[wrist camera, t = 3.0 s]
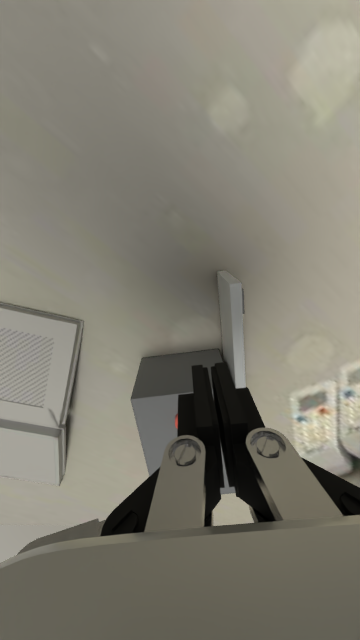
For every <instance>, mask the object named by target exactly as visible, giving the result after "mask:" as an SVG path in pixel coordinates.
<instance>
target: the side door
mask: <svg viewBox="0 0 360 640" xmlns="http://www.w3.org/2000/svg"><path fill="white" fill-rule="evenodd" d="M217 279H218V292H219V305H220V319H221V332H222V345H223V358H224V362H226V363H227V366H228V369H229V371H230V374H231V377H232V380H233V383H234V386H235V388H246V384H245V359H244V335H243V314H244V292H243V289H242V286H241V282H240V281H239V280H237V279H236V278H235V277H234V276H232V275H231V274H230V273H229V272H227V271H226V270H224V271H217Z"/></svg>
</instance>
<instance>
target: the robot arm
mask: <svg viewBox="0 0 360 640" xmlns="http://www.w3.org/2000/svg"><path fill="white" fill-rule="evenodd" d="M191 367H192V380H193V392H194V393H189V394H180V395H178V429H177V437H176V438H174V439H173V440H172V441H170V442H169V444H168V445H167V446H166V448H165V451H164V455H163V459H162V463H161V466H160V467H159V468H158V469H157V470H156V471H155V472H154V473H153V474H152V475H151V476H150V477H149V478H148V479H147V480H145V481H144V482H143V483H142V484H141V485H140V486H139V487H138V488H137V489H136V490H135V491H134V492H133V493H132V494H130V495H129V496H128V497H127V498H126V499H125V500H124V501H123V502H122V503H121V504H120V505H119V506H118V507H117V508H115V509H114V510H113V511H112V513H111V514H110V515H109V516H108V517H107V519H106V520H103V521H101V522H99V520H98V519H95V520H92V521H89V522H86V523H83V524H80V525H77V526H74V527H71V528H68V529H65V530H62V531H59V532H56V533H53V534H50V535H47V536H44V537H41V538H38V539H36V540H34V541H33V542H31V543H29V544H28V545H26V546H25V547H24V548H23V549H22V550H21V551H20V552H19V553H18V554H17V555H16V556H14V557H12V558H9V559H8V560H6V561H4V562H2V563H0V640H360V488H359V487H357V486H355V485H353V484H351V483H349V482H347V481H345V480H344V479H342V478H340V477H338V476H336V475H334V474H332V473H330V472H328V471H326V470H324V469H323V468H321V467H319V466H317V465H315V464H313V463H311V462H309V461H307V460H305V459H303V458H301V457H300V455H299V454H298V453H297V451H296V450H295V449H294V447H293V446H292V444H291V443H290V442H289V440H288V439H287V438H286V437H285V436H284V435H283V434H282V433H280V432H279V431H277V430H274V429H271V428H265V426H264V423H263V421H262V419H261V417H260V414H259V412H258V410H257V407H256V405H255V403H254V401H253V398H252V396H251V394H250V391H249V389H248V388H247V387H246V388H235V386H234V383H233V380H232V377H231V374H230V371H229V369H228V366H227V363H226V362H220V363H215V366H211V376H212V386H213V394H212V388H211V383H210V378H209V373H208V368H207V367H203V365H193V366H191ZM213 396H214V399H213ZM220 442H221V443H220ZM221 448H222V453H223V458H224V463H225V469H226V474H227V479H228V484H229V487H234V488H235V492H236V497H239V498H241V499H242V500H243V501H245V502H246V503H247V504H248V505H249V509H250V513H251V515H252V518H253V521H254V523H248V524H236V525H223V526H213V509H214V508H215V506H216V505H217V504H218V502H219V501H220V500H221V493H220V488H225V485H224V474H223V464H222V453H221Z"/></svg>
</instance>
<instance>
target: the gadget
mask: <svg viewBox="0 0 360 640" xmlns="http://www.w3.org/2000/svg"><path fill="white" fill-rule="evenodd" d="M83 324H84V321H81V320H77V319H73V318H68V317H64V316H59V315H55V314H50V313H46V312H41V311H37V310H32V309H28V308H23V307H19V306H14V305H10V304H5V303H1V302H0V477H4V478H11V479H17V480H24V481H30V482H37V483H44V484H50V485H57V486H60V484H61V481H62V477H63V475H65V467H66V425H65V423H66V420H67V415H68V410H69V404H70V399H71V393H72V388H73V383H74V377H75V372H76V366H77V361H78V356H79V350H80V345H81V339H82V332H83Z"/></svg>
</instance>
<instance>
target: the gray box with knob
mask: <svg viewBox="0 0 360 640" xmlns="http://www.w3.org/2000/svg"><path fill="white" fill-rule="evenodd" d="M220 362H223V361H222V358H221V355H220V352H219V349H213V350H205V351H197V352H189V353H181V354H173V355H164V356H156V357H148V358H142V359H141V363H140V366H139V370H138V374H137V377H136V381H135V385H134V389H133V392H132V396H131V403H132V407H133V411H134V415H135V419H136V423H137V427H138V431H139V436H140V440H141V444H142V448H143V452H144V456H145V460H146V464H147V468H148V472H149V476H151V475H152V474H153V473H154V472H155V471H156V470H157V469H158V468H159V467H160V466H161V463H162V459H163V455H164V451H165V448H166V446H167V445H168V444H169V442H170V441H172V440H173V439H174V438H176V437H177V429H178V395H180V394H189V393H194V392H193V380H192V367H191V366H193V365H203V367H207V368H208V373H209V378H210V383H211V388H212V394H213V386H212V376H211V366H215V363H220ZM213 399H214V396H213ZM220 443H221V442H220ZM221 453H222V448H221ZM222 464H223V474H224V485H225V488H220V493H221V494H229V493H236V492H235V488H234V487H229V484H228V479H227V474H226V469H225V463H224V458H223V453H222Z"/></svg>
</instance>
